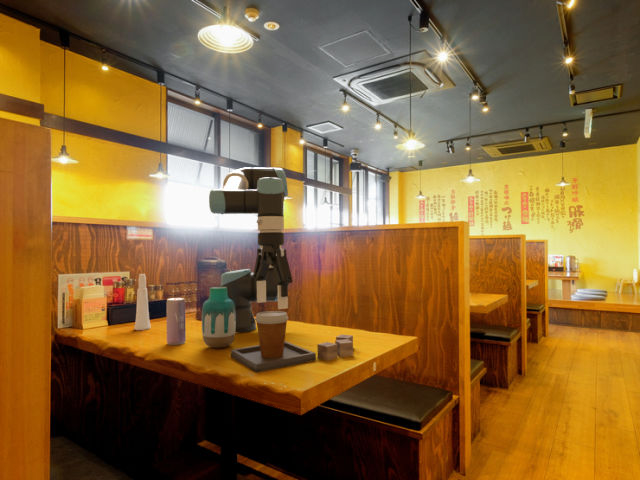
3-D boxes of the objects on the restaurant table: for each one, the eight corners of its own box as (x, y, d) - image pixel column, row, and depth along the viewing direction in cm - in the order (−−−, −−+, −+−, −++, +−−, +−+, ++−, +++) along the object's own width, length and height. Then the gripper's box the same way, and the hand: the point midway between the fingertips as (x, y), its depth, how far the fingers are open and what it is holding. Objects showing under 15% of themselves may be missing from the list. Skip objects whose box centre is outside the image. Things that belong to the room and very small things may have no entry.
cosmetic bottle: (148, 329, 155) (148, 274, 155) (132, 330, 154) (131, 274, 154) (152, 326, 161) (152, 273, 161) (136, 327, 160) (136, 273, 160)
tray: (230, 356, 114) (230, 349, 114) (284, 347, 124) (284, 340, 124) (256, 372, 99) (256, 364, 99) (315, 360, 109) (315, 353, 109)
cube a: (317, 358, 111) (317, 344, 112) (327, 355, 114) (327, 341, 114) (327, 361, 109) (327, 346, 109) (337, 358, 111) (337, 344, 112)
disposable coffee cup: (283, 360, 106) (282, 316, 107) (250, 359, 108) (249, 316, 108) (292, 351, 116) (292, 311, 116) (262, 350, 118) (261, 310, 118)
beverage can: (180, 340, 136) (180, 297, 136) (188, 343, 132) (188, 298, 132) (163, 343, 132) (163, 299, 132) (171, 346, 127) (171, 300, 128)
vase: (200, 345, 128) (199, 287, 129) (232, 341, 133) (231, 285, 133) (204, 353, 119) (203, 290, 119) (238, 349, 123) (238, 288, 123)
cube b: (335, 353, 116) (335, 340, 116) (347, 352, 117) (347, 339, 117) (340, 357, 112) (340, 343, 112) (353, 355, 114) (352, 342, 114)
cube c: (336, 350, 120) (335, 337, 120) (341, 347, 124) (341, 334, 124) (348, 351, 118) (347, 338, 119) (353, 348, 122) (352, 335, 122)
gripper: (241, 232, 121) (242, 301, 121) (279, 230, 100) (280, 313, 100) (263, 232, 125) (264, 298, 125) (304, 230, 104) (305, 310, 104)
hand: (271, 305), depth 112 cm, fingers open, 13 cm apart
